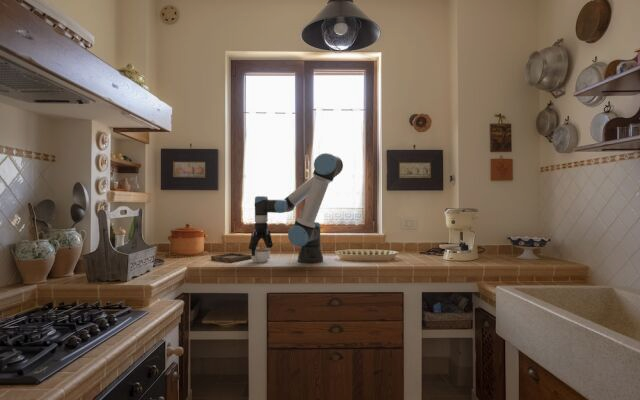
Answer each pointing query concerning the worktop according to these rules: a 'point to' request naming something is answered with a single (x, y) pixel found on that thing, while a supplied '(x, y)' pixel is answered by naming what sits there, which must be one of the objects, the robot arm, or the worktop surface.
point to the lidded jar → (262, 254)
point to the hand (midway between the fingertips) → (261, 260)
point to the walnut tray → (231, 257)
